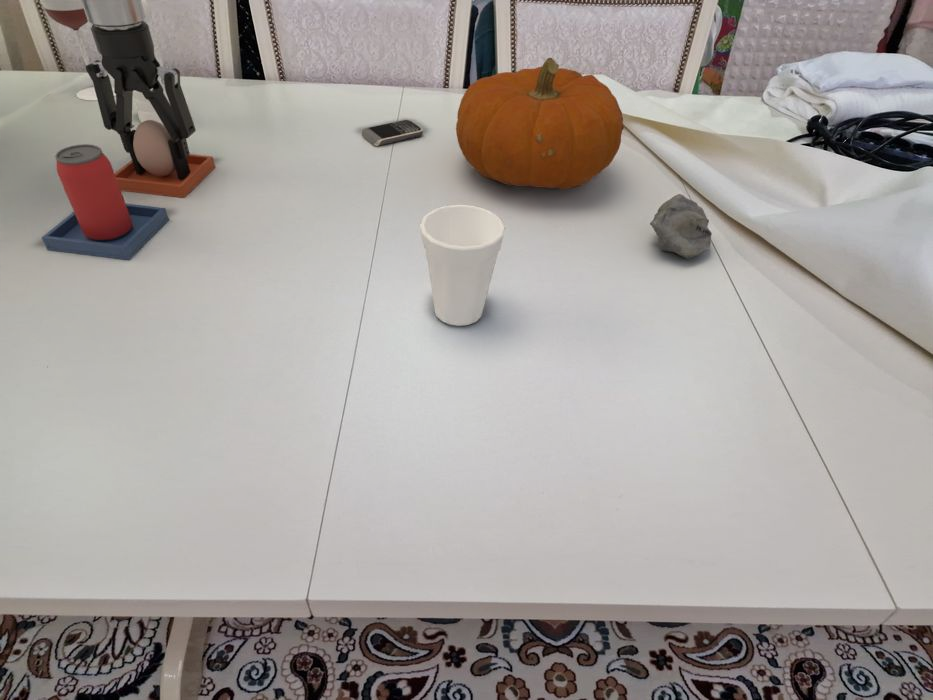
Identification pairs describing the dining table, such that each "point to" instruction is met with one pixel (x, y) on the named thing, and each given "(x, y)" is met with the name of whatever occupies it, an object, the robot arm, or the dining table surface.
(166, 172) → the egg
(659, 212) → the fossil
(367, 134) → the cell phone
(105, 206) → the beer can
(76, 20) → the wineglass
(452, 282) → the cup
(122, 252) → the blue tray
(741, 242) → the dining table surface
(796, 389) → the dining table surface
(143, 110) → the water bottle
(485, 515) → the dining table surface
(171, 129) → the robot arm
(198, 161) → the terracotta tray
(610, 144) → the pumpkin
